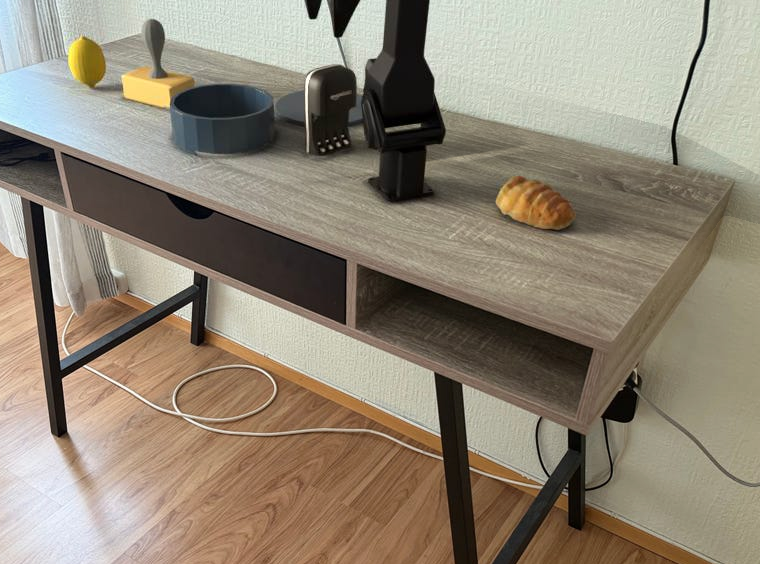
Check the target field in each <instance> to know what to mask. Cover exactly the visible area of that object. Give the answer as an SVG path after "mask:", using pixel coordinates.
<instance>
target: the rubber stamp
mask: <svg viewBox="0 0 760 564" xmlns="http://www.w3.org/2000/svg"><path fill="white" fill-rule="evenodd" d="M140 29H141V30H140V31H141V32H140V33H141V38H142V39H141V40H142V42H143V44H144V46H145V49H146V50H147V53H148V55H149V57H150V60H151V62H152V63H151V64H152V67H151V66H148V65H145V66H141V67H139V68H137V69H135V70H132V71H129V72H127V73H124V74H122V75H121V82H122V88H123V94H124V99H125V100H129V101H134V102H138V103H141V104H146V105H149V106H153V107H157V108H161V109H166V108H170V105H169V104H170V99H171V98H172V97H173V96H174V95H175V94H176V93H178V92H181V91H183V90H185V89H188V88H192V87H196V85H195V79H194V77H193V76H191V75H188V74H187V75H185V74H182V73H178V72H173V71H169V70H165V69H164V68H163V67H162V63H161V61H162V55H163V51H164V47H165V43H166V32H165V29H164V26H163V25H162V23H161V21H159V20H157V19H155V18H148V19H146V20H145V21H144V22H143V23H142V25H141V28H140Z"/></svg>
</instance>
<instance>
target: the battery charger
mask: <svg viewBox="0 0 760 564" xmlns="http://www.w3.org/2000/svg"><path fill="white" fill-rule="evenodd" d="M357 82H358V81H357V76H356V73H355V72H354V71H353V70H352V69H351V68H348V67H346V66H344V65H343V64H340V63H333V64H327V65H323V66H320V67H317V68H313V69H311V70H309V72H307V74H306V75H305V78H304V82H303V90H304V119H305V126H304V151H305V152H306V153H308V154H310V155H314V156H317V157H324V156H327V155H331V154H334V153H336V152H340V151H343V150H347V149H349V148H351V147H352V140H351V135H350V130H349V126H348V122H349V110H350V109H351V108H353V107H356V103H357V94H358V88H357V87H358V84H357Z"/></svg>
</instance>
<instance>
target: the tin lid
mask: <svg viewBox="0 0 760 564" xmlns="http://www.w3.org/2000/svg"><path fill="white" fill-rule="evenodd" d="M362 96H363V95H361V94H359V93H357V103H356V107H353V108H351V109H350V110H349V122H348V127H351V126H353V125H358V124H361V123H363V117H362V108H361V101H362ZM274 111H275V113H276V114H277V116H278V117H280V118H281V119H283V120H285V121H286V122H289V123H292V124H295V125H299V126H303V127H305V119H304V89H303V90H297V91H293V92H290V93H288V94H285V95H283V96H282V97H279V99H277V100H276V102H275V103H274Z"/></svg>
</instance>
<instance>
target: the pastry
mask: <svg viewBox="0 0 760 564" xmlns="http://www.w3.org/2000/svg"><path fill="white" fill-rule="evenodd" d="M495 204H496V206H497V207H498V208H499V210H500V212H501V213H502V215H505V216H506V215H507V216H509V217H511V219H513V220H515V221H518V222H520V223H525V224H527V225H528V226H533V227H534V228H539V229H543V230H544V229H545V230H548V229H549V230H550V229H552V230H557V231H559V230H562V229H565V228H567V227H568V226H570V225H571V224H572V223H573V221H574V219H575V218H576V212H575V209H574V208H573V207H572V205H571V204H570V202H569V200H568V199H566V198H564V197H563V196H562V194H561V193H560V192H557V191H555V190H554V189H553V188H552V187H551V185H549V184H545V183H544V184H543V183H542V181H540V180H539V179H532V180H528V179H527V178H526V177H525V176H522V175H516V176H513V177H510V178H509V179H508V181H507V182H505V183H504V185H503V186H502V187H501V188H500V191H499V192H498V195H497V197H496V200H495Z"/></svg>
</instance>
